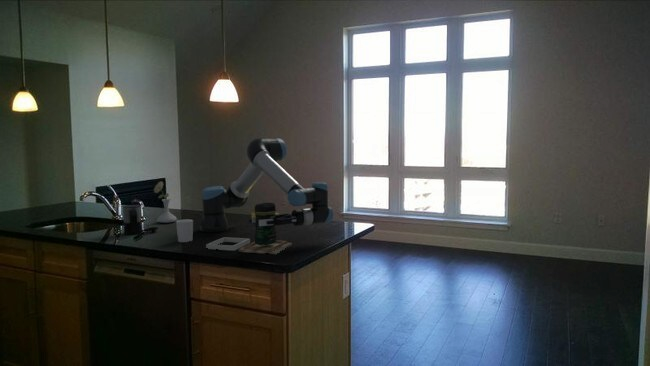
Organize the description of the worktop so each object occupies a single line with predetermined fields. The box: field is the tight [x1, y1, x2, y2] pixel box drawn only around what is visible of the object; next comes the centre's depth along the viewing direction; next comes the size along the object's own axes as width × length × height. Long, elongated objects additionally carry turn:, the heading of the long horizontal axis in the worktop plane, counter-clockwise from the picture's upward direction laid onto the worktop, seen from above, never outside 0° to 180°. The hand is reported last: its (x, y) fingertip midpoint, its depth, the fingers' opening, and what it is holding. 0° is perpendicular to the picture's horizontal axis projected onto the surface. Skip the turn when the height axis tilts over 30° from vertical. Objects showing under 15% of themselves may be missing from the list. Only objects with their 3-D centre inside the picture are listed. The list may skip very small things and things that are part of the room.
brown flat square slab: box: [238, 239, 293, 255], centre depth 216 cm, size 18×18×2 cm
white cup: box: [175, 218, 194, 243], centre depth 233 cm, size 8×8×10 cm
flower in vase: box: [153, 180, 178, 224], centre depth 283 cm, size 13×11×25 cm
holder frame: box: [205, 236, 251, 251], centre depth 221 cm, size 14×16×2 cm
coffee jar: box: [254, 202, 277, 245], centre depth 215 cm, size 10×8×19 cm
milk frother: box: [121, 204, 159, 236], centre depth 254 cm, size 14×16×15 cm
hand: (255, 221), depth 212 cm, fingers closed on coffee jar, 9 cm apart
